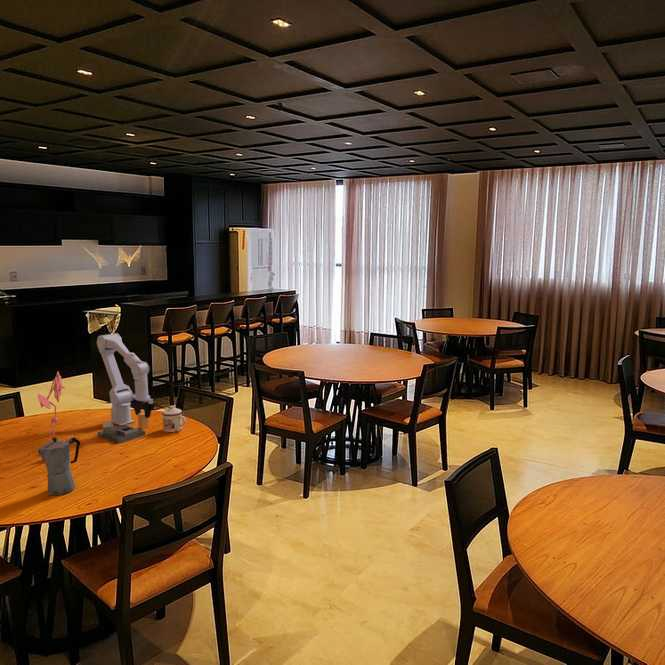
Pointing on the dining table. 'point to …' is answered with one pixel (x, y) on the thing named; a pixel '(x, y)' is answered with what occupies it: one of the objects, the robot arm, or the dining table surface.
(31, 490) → the dining table surface
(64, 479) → the moka pot
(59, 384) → the pink orchid stem
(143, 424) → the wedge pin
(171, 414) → the teacup with lid
